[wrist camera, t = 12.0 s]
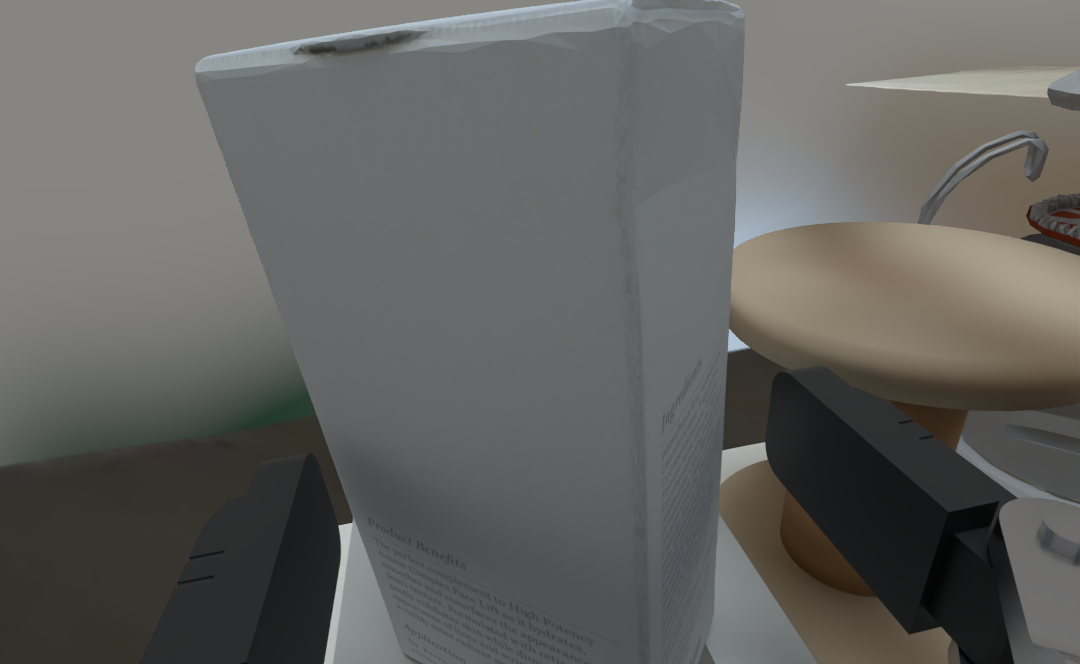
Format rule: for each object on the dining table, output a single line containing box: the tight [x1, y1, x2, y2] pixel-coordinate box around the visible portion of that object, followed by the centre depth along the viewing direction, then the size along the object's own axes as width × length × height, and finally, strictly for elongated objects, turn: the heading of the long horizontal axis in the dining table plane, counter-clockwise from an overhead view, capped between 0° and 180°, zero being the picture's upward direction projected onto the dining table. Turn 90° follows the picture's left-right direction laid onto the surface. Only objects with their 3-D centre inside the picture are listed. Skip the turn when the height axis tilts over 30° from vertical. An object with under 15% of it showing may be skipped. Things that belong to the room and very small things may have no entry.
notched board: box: [324, 442, 818, 664], centre depth 15 cm, size 22×14×4 cm, turn 101°
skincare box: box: [194, 0, 744, 664], centre depth 10 cm, size 6×4×12 cm
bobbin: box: [719, 222, 1080, 664], centre depth 15 cm, size 8×8×10 cm
